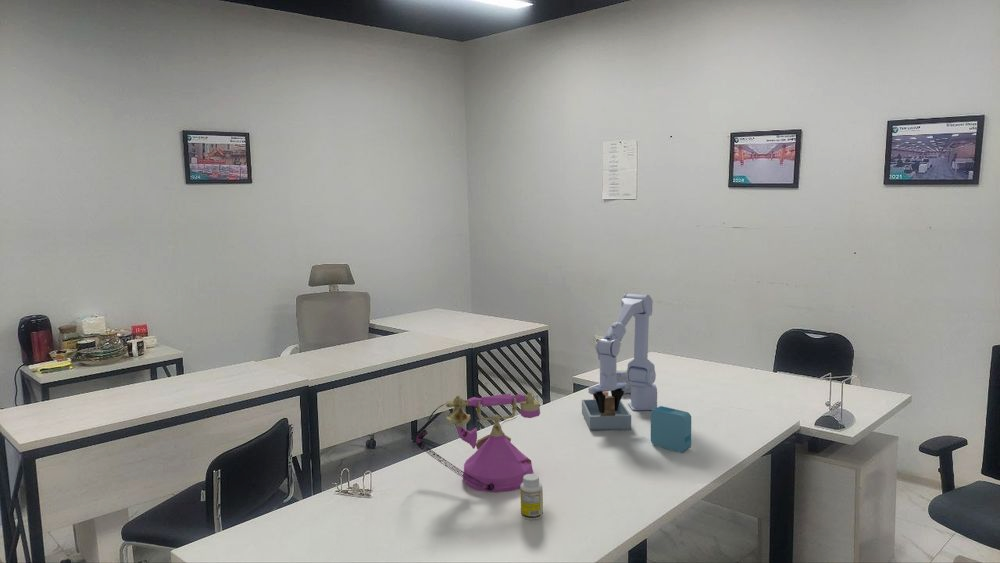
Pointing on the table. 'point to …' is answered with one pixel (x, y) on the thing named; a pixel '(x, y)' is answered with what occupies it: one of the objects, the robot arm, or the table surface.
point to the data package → (671, 429)
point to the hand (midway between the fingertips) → (608, 411)
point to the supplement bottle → (531, 497)
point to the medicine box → (623, 380)
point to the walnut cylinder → (609, 406)
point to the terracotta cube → (603, 393)
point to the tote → (605, 417)
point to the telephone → (490, 444)
